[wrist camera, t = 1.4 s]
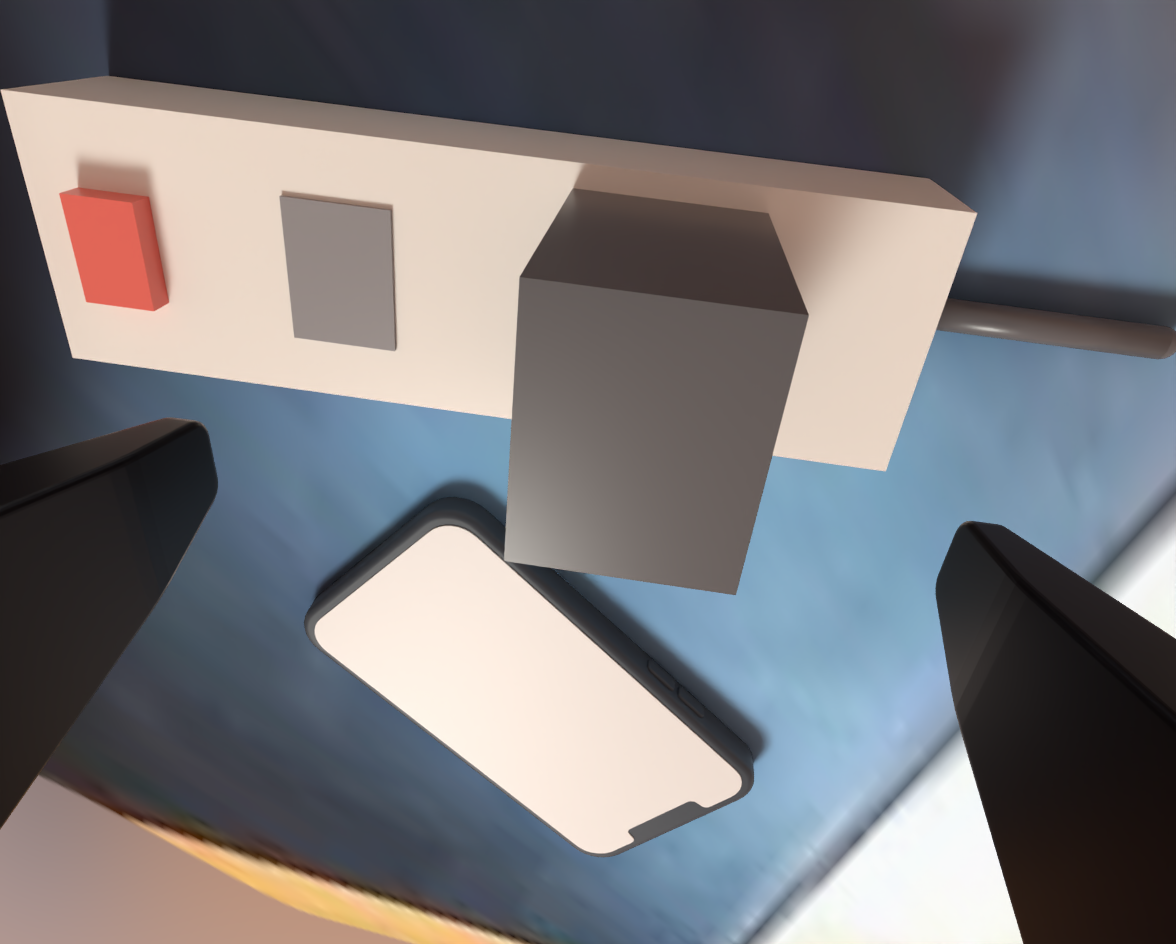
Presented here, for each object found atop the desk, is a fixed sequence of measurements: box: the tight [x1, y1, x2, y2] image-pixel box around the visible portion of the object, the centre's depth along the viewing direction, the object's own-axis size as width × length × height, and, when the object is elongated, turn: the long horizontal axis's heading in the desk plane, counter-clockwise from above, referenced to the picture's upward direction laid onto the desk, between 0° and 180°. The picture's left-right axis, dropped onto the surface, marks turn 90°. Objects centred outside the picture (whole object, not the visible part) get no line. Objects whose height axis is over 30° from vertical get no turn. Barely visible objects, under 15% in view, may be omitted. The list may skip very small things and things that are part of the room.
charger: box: [504, 188, 809, 595], centre depth 15 cm, size 4×5×8 cm
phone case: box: [304, 497, 754, 857], centre depth 28 cm, size 9×2×16 cm
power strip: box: [1, 76, 1176, 471], centre depth 18 cm, size 27×6×4 cm, turn 84°
